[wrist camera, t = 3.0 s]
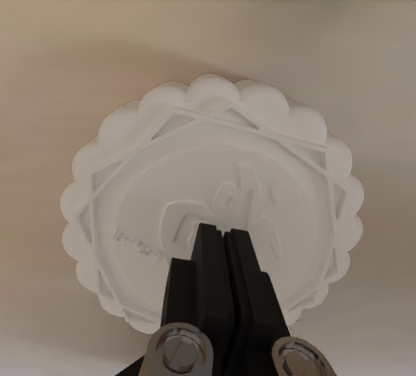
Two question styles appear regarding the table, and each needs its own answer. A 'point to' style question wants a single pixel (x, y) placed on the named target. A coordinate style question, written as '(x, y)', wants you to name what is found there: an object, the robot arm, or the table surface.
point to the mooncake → (210, 194)
